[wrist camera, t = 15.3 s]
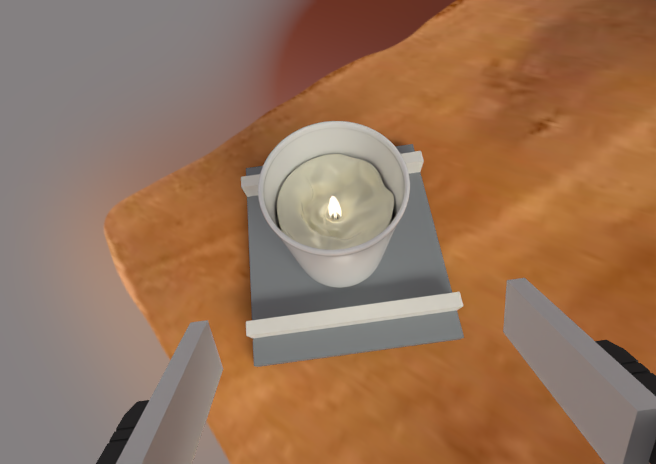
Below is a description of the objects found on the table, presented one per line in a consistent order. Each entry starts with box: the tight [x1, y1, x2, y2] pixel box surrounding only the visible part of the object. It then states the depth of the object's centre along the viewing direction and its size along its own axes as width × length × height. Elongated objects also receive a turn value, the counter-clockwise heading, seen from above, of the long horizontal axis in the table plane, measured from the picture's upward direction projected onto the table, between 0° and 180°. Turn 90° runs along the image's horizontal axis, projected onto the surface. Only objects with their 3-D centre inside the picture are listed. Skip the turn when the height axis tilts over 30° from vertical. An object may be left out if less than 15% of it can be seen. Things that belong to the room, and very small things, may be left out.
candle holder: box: [258, 121, 410, 288], centre depth 28 cm, size 10×10×12 cm
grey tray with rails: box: [241, 144, 464, 367], centre depth 34 cm, size 20×18×4 cm
